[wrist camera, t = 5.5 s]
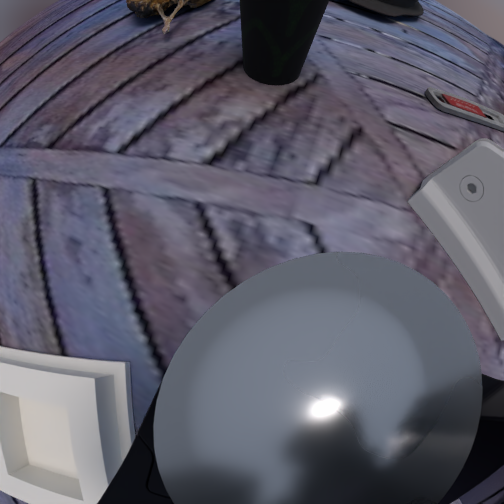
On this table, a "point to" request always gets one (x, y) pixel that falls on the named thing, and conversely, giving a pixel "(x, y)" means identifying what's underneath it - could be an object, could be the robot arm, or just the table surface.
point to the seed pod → (160, 8)
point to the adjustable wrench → (465, 108)
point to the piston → (321, 390)
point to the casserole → (392, 7)
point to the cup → (278, 37)
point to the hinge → (470, 220)
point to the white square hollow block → (62, 426)
